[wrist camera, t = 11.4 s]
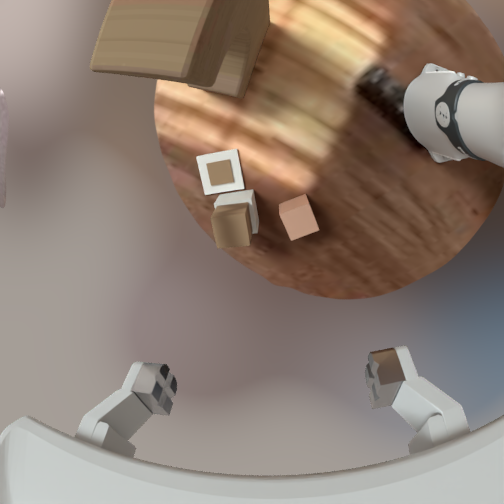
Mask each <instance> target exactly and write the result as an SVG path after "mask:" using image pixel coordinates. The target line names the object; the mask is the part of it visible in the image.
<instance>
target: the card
mask: <svg viewBox="0 0 504 504" xmlns="http://www.w3.org/2000/svg"><path fill="white" fill-rule="evenodd" d="M196 158H197V162H198V166H199V171H200V175H201V180H202V184H203V188H204V192H205V195H208V194H214V193H220V192H226V191H233V190H239V189H244V183H243V177H242V172H241V167H240V161H239V156H238V151H237V149H232V150H227V151H221V152H216V153H211V154H206V155H201V156H197V157H196Z"/></svg>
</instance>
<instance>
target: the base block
mask: <svg viewBox="0 0 504 504" xmlns="http://www.w3.org/2000/svg"><path fill="white" fill-rule="evenodd" d="M245 202H248V204H249V211H250V217H251V223H252V230H253V232H252V234H254V233H258V226H259V217H258V212H257V206H256V201H255V195H254V190H247V191H240V192H234V193H227V194H221V195H219V197H218V198H217V200H216V202H215V203H214V206H215V209H216V207H217V206H220V205H228V204H236V203H245Z"/></svg>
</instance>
